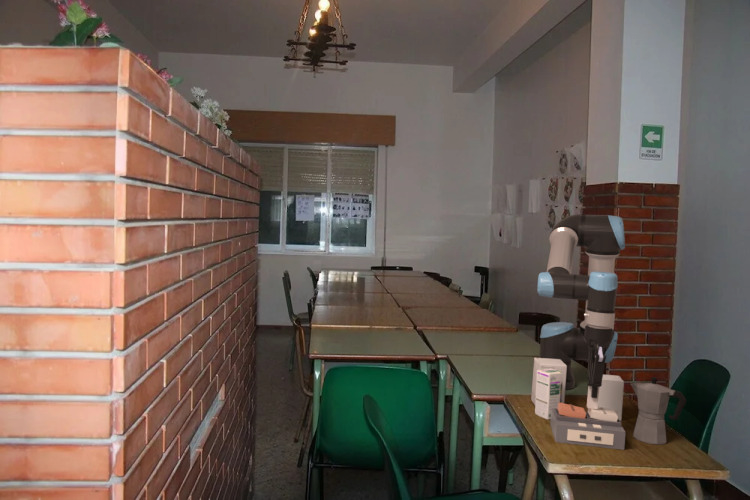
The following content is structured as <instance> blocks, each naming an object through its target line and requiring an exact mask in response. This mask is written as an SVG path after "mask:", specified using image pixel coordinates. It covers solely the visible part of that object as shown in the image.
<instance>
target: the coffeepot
mask: <svg viewBox="0 0 750 500" xmlns="http://www.w3.org/2000/svg"><path fill="white" fill-rule="evenodd" d="M657 382H658V378H657V377H655V376H653V377H651V382H643V383H642V382H631V383H630V384H629V385H630V386H631V388H632V389H633V391H634V393H635V394H636V397H637V406H638V407H637V408H638V414H637V418H636V422H635V426H634V429H633V435H632V436H633V438H634V439H635V440H637V441H639V442H642V443H646V444H648V445H656V446H657V445H664V444H667V443H668V442H667V432H666V421H665V414H666V412H667V409H668V404H669V400H670V398H677V399H678V400H679V401H678V402H677V405H676V408H675V410H674V412H673V413H674V414H673V415H668V418H669V419H670V420H673V421H677V420H679V417H680V415H681V413H682V411H683V409H684V407H685V405H686V404H687V398H686V397H685V395H684V394H683V393H682V392H681V391H679V390H674V389H671V388H669V387H667V386H664V385H661V384H658V383H657Z"/></svg>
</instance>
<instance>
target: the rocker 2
mask: <svg viewBox="0 0 750 500" xmlns="http://www.w3.org/2000/svg"><path fill="white" fill-rule="evenodd" d="M587 412H588V413H589V415H590V417H591V418H594V419H598V420H605V421H614V422H617V419H618V416H617V415H616V413H615V412H614V411H612V410H607V409H603V408H602V407H601V408H599V407H598V409H591V408H587Z"/></svg>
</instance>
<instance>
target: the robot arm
mask: <svg viewBox="0 0 750 500" xmlns="http://www.w3.org/2000/svg"><path fill="white" fill-rule="evenodd" d="M625 242H626V240H625V226H624V220H623V218H622V217H621V216H616V215H610V214H573V215H572V214H571V215H569V216H567V217H565V218H563V219H561V220H559V221H558V222H557V223H556V224H555V225H554V226H553V228H552V229H551V230H550V233H549V245H550V251H549V255H548V262H547V266H546V267H547V268H546V271H544V272H543V271H541V272H540V273H539V274H538V277H537V288H536V289H537V294H538V296H539V297H545V298H551V299H552V298H553V299H554V298H555V299H567V300H577V301H578V300H579V301H585V311H584V312H585V313H583V316H584V320H583V321H581V322H580V324H579V327H575V325H574V323H572V322H566V321H556V322H548V323H546V324H543V325H542V326H541V329H540V335H539V339H540V344H539V356H538V358H549V359H560V360H561V361H562V362H563V363H564V364H566V366H567V371H566V384H565V391H566V390H572V389H574V388H575V385H576V381H575V379H576V378H575V376H574V372H573V368H572V360H578V361H586V362H588V364H587V377H586V378H587V381H588V382H587V386H588V388H587V400H586V409H588V408H591V409H598V398H599V387H601V385H602V378H603V375H604V369H605V364H607V363H608V364H609V363H611V362H612V361H613V359H614V356H615V352H616V349H617V344H618V343H617V342H618V337H619V335H618V332H616V331H615V329H614V328H615V326H614V325H615V320H616V319H615V317H616V310H615V309H616V300H617V291H618V287H619V283H618V275H617V274H616V273H615V260H616V259H617V257H619V255H621V251H622V250H625V249H626V244H625ZM576 247H579V248H584V253H585V254H586V255H587V256H588V267H587V268H588V269H587V270H588V271H587V275H583V274H572V271H573V261H574V253H575V248H576Z"/></svg>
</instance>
